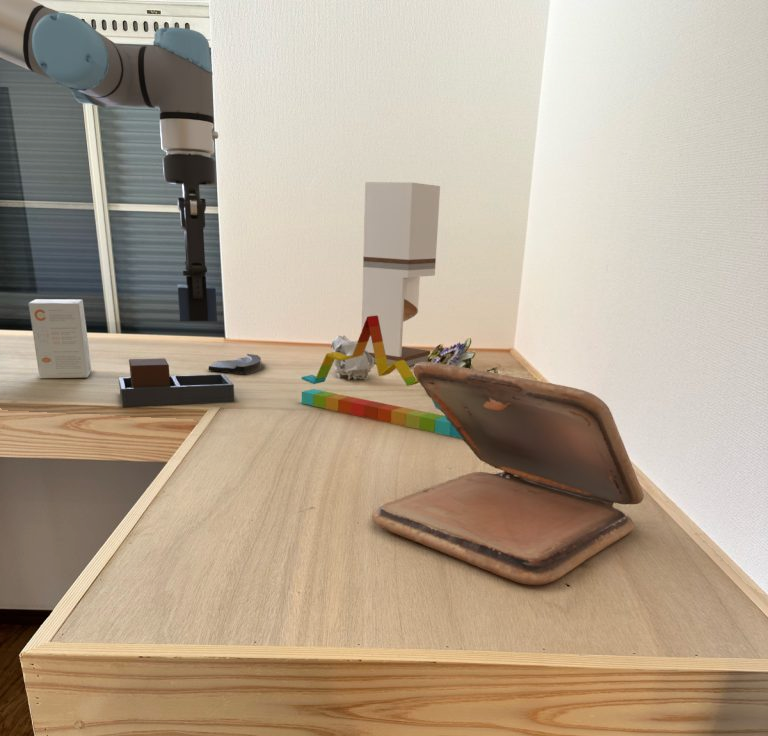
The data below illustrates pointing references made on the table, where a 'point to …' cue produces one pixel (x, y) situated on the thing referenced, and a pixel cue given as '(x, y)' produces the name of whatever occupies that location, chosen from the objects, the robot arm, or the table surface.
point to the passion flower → (455, 355)
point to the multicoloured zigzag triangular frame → (370, 407)
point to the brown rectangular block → (149, 372)
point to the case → (521, 477)
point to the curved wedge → (238, 365)
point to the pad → (184, 303)
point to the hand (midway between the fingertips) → (197, 317)
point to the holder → (179, 391)
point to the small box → (60, 338)
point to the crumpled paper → (354, 365)
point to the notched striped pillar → (397, 259)
